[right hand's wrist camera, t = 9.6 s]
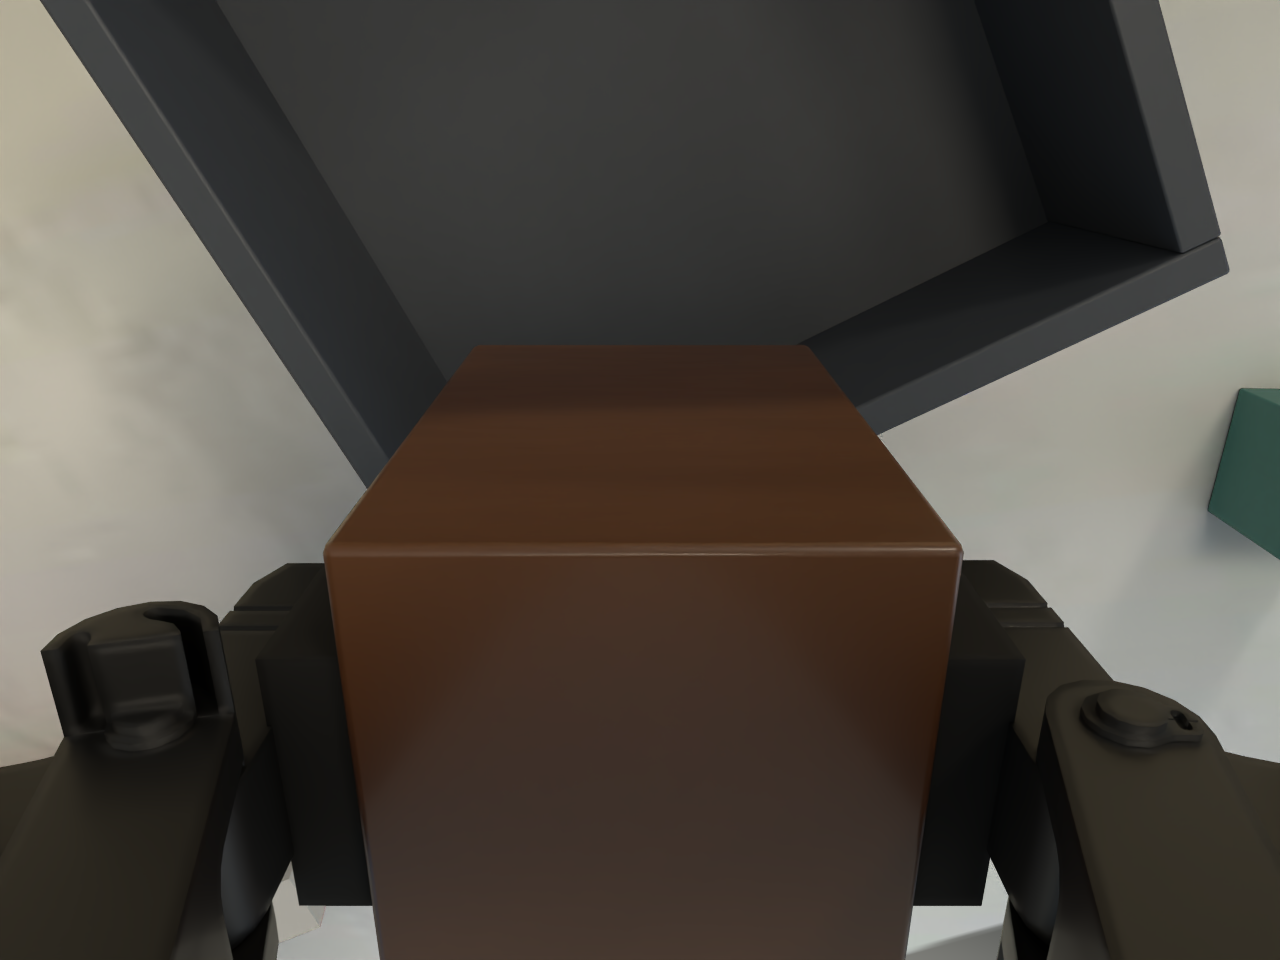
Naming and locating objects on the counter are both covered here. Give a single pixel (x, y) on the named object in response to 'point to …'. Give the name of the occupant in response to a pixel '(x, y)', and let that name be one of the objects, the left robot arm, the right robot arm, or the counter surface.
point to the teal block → (1252, 470)
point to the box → (665, 181)
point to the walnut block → (642, 662)
